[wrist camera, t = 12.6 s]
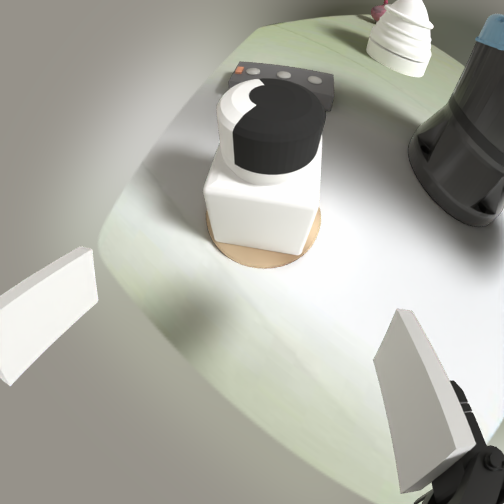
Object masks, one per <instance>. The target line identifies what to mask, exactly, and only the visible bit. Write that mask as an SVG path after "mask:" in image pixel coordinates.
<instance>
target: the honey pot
mask: <svg viewBox="0 0 504 504" xmlns="http://www.w3.org/2000/svg"><path fill="white" fill-rule="evenodd" d="M384 8H385V9H386V10H387V11H386V12H385V13H384V14H383V16H381V17H380V19H379V21H378V22H377V23H376V25H375V26H374V27H372V29H371V33H370V36H369V40H368V44H367V48H366V51H367V53H368V54H369V55H370V56H371V57H372V58H373V59H374V60H376V61H377V62H379V63H381V64H382V65H384V66H386V67H388V68H390V69H392V70H394V71H397V72H399V73H402V74H405V75H408V76H412V77H422V76H423V75H424V72H425V70H426V67H427V65H428V62H429V60H430V57H431V51H430V48H431V44H430V42H431V38H430V29H432V28H433V25H432V23H430V22H429V19H428V15H427V11H426V8H425V6H424V4H423V2H422V1H421V0H397V1H396V2H394V3H393V4H392V5H389V4H387V5H385V6H384Z"/></svg>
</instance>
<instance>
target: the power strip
mask: <svg viewBox="0 0 504 504" xmlns="http://www.w3.org/2000/svg"><path fill="white" fill-rule="evenodd" d="M261 78H273V79H282V80H287V81H290V82H294V83H296V84H299V85H301V86H303V87H305V88H307V89H308V90H310V91H311V92H312V93H314V94H315V95H316V96H317V98H318V99H319V100H320V102H321V103H322V105H323V107H324V109H325V110H326V111H331V107H332V103H333V99H334V78H333V74H328V73H323V72H318V71H313V70H307V69H301V68H295V67H288V66H281V65H273V64H264V63H253V62H239V64H238V65H237V67H236V69H235V71H234V73H233V74H232V76H231V78H230V80H229V89H230V88H232V87H233V86H235V85H237V84H239V83H242V82H245V81H248V80H253V79H261Z"/></svg>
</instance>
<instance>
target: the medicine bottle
mask: <svg viewBox="0 0 504 504" xmlns="http://www.w3.org/2000/svg"><path fill="white" fill-rule="evenodd" d="M325 118H326V112H325V109H324V107H323V105H322V103H321V102H320V100H319V99H318V98H317V96H316V95H315V94H314V93H312V92H311V91H310V90H308V89H307V88H305V87H303V86H301V85H299V84H296V83H294V82H290V81H287V80H282V79H273V78H261V79H253V80H248V81H245V82H242V83H239V84H237V85H235V86H233V87H232V88H230V89H229V90H228V91H227V92H226V93H225V94H224V95H223V96H222V97H221V98H220V100H219V102H218V104H217V120H218V129H219V138H220V143H219V146H218V149H217V151H216V154H215V157H214V159H213V162H212V165H211V167H210V170H209V173H208V176H207V179H206V181H205V184H204V187H203V195H204V199H205V203H206V207H207V211H208V215H209V219H210V223H211V227H212V231H213V235H214V239H215V240H216V241H217V242H221V243H227V244H233V245H239V246H245V247H251V248H257V249H263V250H268V251H274V252H280V253H286V254H292V255H300V254H301V253H302V250H303V248H304V245H305V243H306V240H307V237H308V235H309V232H310V229H311V227H312V224H313V221H314V219H315V216H316V213H317V211H318V208H319V194H320V178H321V159H322V131H323V127H324V123H325Z"/></svg>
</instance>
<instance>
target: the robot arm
mask: <svg viewBox="0 0 504 504" xmlns="http://www.w3.org/2000/svg"><path fill="white" fill-rule="evenodd" d="M475 40H476V44H475V46H474V48H473V51H472V53H471V55H470V58H469V60H468V62H467V65H466V66H465V69H464V71H463V73H462V75H461V77H460V79H459V81H458V83H457V85H456V87H455V89H454V92H453V93H452V95H451V97H450V99H449V101H448V103H447V104H446V105H445V106H444V107H443V108H441V109H440V110H439V111H438V112H436V113H435V114H434V115H433V116H432V117H430V118H429V119H428V120H427V121H425V122H424V123H423V124H422V125H420V126H419V128H418V129H417V130H416V132H415V134H414V135H413V137H412V139H411V141H410V143H409V149H408V152H409V159H410V162H411V165H412V168H413V170H414V172H415V174H416V176H417V178H418V179H419V181H420V183H421V184H422V186H423V187H424V188H425V190H426V191H427V192H428V193H429V195H430V196H431V197H432V198H433V199H434V200H435V201H436V202H437V203H438V204H439V205H440V206H441V207H442V208H443V209H444V210H445V211H446V212H448V213H449V214H450V215H452V216H453V217H454V218H456V219H458V220H459V221H461V222H463V223H465V224H468V225H471V226H475V227H483V226H486V225H488V224H489V223H491V222H492V221H493V220H494V219H495V218H496V217H497V216H499V214H500V213H501V212H502V210H503V208H504V15H501V14H493V15H491V16H489V17H488V19H487V21H486V22H485V25H484V27H483V29H482V31H481V33H480V35H479V37H476V39H475ZM97 302H98V296H97V288H96V280H95V271H94V262H93V251H92V249H90V248H86V247H82V246H80V247H78V248H76V249H74V250H73V251H71V252H69V253H67V254H66V255H64V256H62V257H61V258H59V259H57V260H56V261H54V262H53V263H51V264H49V265H47V266H46V267H44V268H42V269H41V270H39V271H37V272H36V273H34V274H33V275H31V276H30V277H28V278H26V279H25V280H23V281H22V282H20V283H19V284H17V285H16V286H14V287H13V288H11V289H10V290H8V291H7V292H5V293H4V294H2V295H1V296H0V378H1V379H2V380H3V381H4V382H5V383H6V384H8V385H9V386H11V385H12V384H13V383H14V382H15V381H16V380H17V379H18V378H19V377H20V375H21V374H23V372H24V371H25V370H26V369H27V368H28V367H29V366H30V365H31V364H32V363H33V362H34V361H35V360H36V359H37V358H38V357H39V356H40V355H41V354H42V353H43V352H44V351H45V350H46V349H47V348H48V347H49V346H50V345H51V344H53V343H54V342H55V341H56V340H57V339H58V338H59V337H60V336H61V335H62V334H63V333H64V332H65V331H66V330H67V329H68V328H69V327H70V326H71V325H72V324H74V323H75V322H76V321H77V320H78V319H79V318H80V317H81V316H82V315H83V314H85V313H86V312H87V311H88V310H89V309H90V308H91V307H92V306H93V305H95V304H96V303H97ZM373 361H374V365H375V369H376V372H377V376H378V380H379V384H380V388H381V392H382V396H383V401H384V405H385V409H386V414H387V418H388V423H389V428H390V433H391V438H392V443H393V448H394V454H395V460H396V466H397V472H398V479H399V486H400V493H401V494H402V493H408V492H414V491H419V490H421V489H423V488H424V487H426V486H427V485H428V484H430V483H431V482H432V487H433V489H432V490H430V491H429V492H427V493H426V494H424V495H423V496H421V497H420V498H418V499H417V500H416V501H415V502H414V504H418V503H419V502H421V501H423V500H424V501H423V502H422V504H503V503H504V455H503V453H502V451H501V450H499V449H498V448H497V447H494V446H487V445H486V443H485V441H484V438H483V436H482V433H481V431H480V428H479V426H478V423H477V421H476V419H475V416H474V414H473V413H471V411H472V410H471V407H470V405H469V404H467V402H468V401H467V399H466V396H465V394H464V392H463V390H462V389H461V388H460V387H459V386H458V385H457V384H456V382H455V381H449V379H448V376H447V374H446V372H445V370H444V368H443V366H442V364H441V362H440V360H439V358H438V356H437V355H436V353H435V351H434V349H433V347H432V345H431V343H430V341H429V340H428V338H427V336H426V334H425V332H424V331H423V329H422V327H421V325H420V323H419V322H418V320H417V318H416V317H415V315H414V313H413V311H410V310H403V309H396V312H395V314H394V316H393V319H392V321H391V323H390V326H389V328H388V330H387V332H386V334H385V337H384V339H383V341H382V343H381V345H380V347H379V349H378V351H377V353H376V355H375V357H374V359H373Z"/></svg>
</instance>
